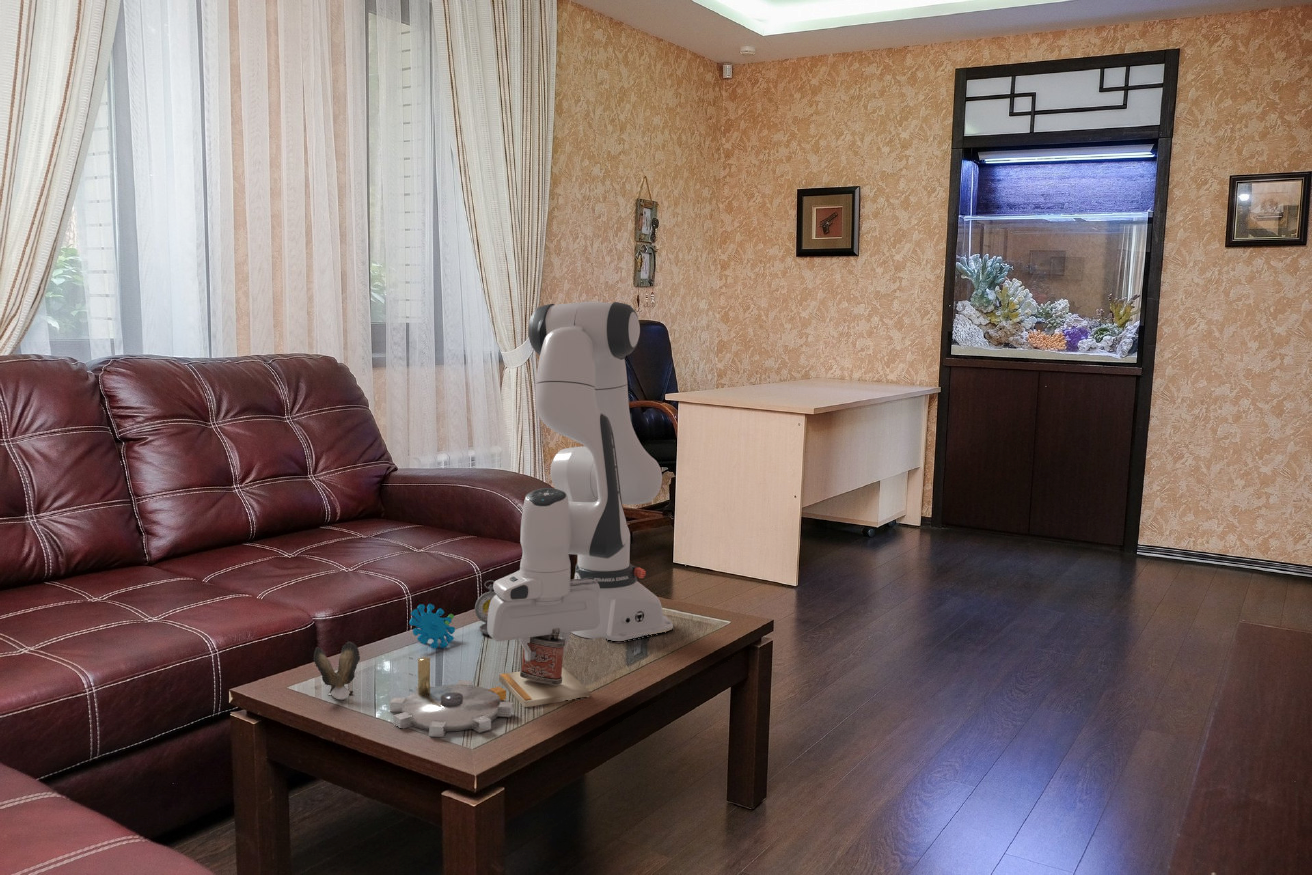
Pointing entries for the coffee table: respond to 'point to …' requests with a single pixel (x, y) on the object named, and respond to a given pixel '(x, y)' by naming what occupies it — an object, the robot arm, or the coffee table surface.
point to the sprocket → (449, 705)
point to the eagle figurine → (344, 672)
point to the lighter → (545, 659)
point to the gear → (432, 626)
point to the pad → (543, 689)
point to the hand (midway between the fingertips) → (544, 657)
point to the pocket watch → (484, 607)
